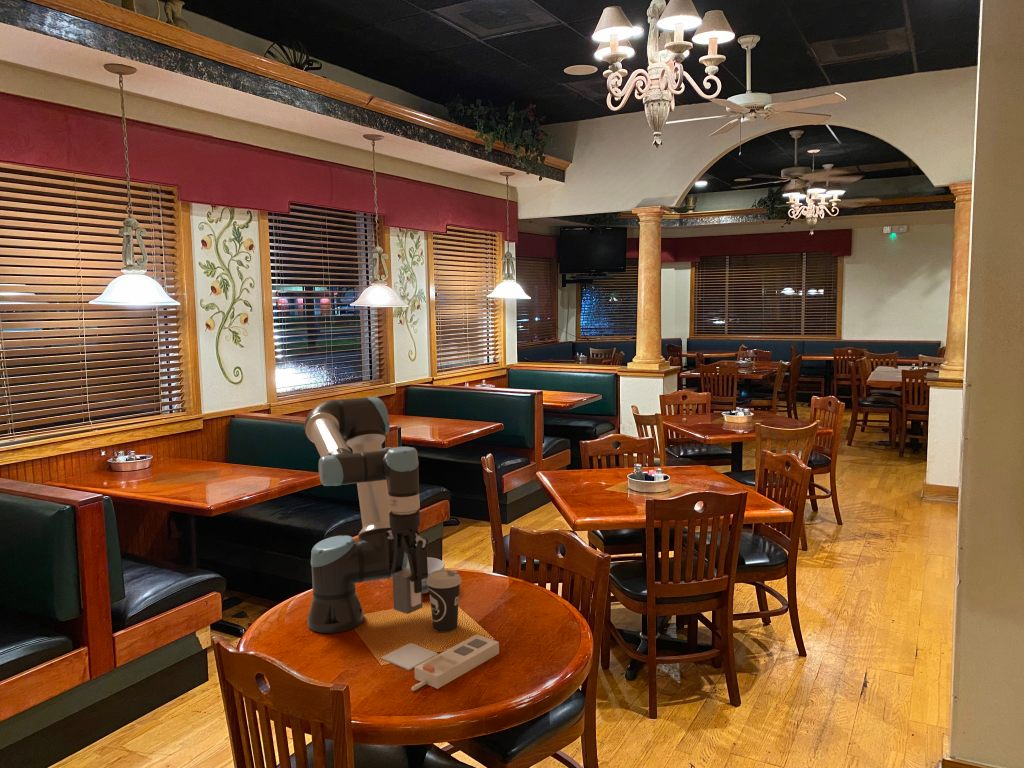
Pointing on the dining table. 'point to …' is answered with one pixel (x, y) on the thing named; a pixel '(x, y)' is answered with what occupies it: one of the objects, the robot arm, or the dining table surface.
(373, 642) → the dining table surface
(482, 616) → the dining table surface
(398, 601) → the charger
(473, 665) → the power strip
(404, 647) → the pad
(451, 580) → the coffee cup
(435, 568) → the chinaware
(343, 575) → the robot arm
